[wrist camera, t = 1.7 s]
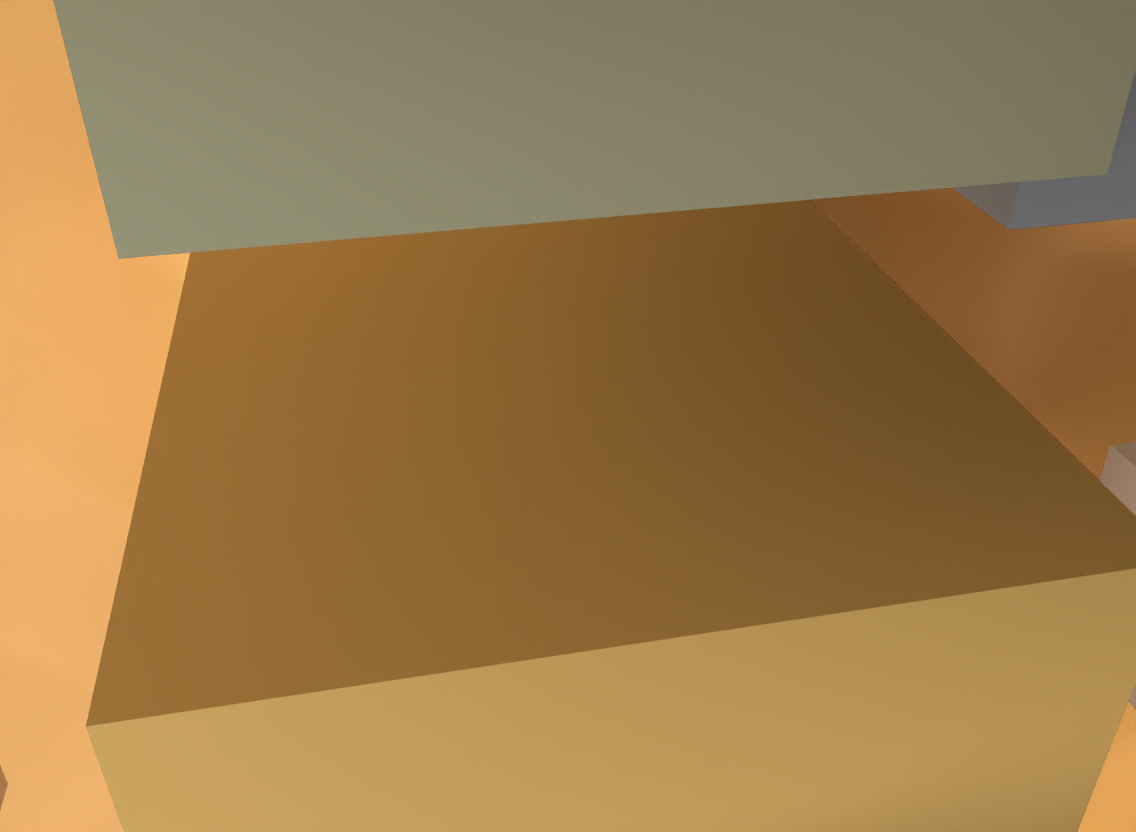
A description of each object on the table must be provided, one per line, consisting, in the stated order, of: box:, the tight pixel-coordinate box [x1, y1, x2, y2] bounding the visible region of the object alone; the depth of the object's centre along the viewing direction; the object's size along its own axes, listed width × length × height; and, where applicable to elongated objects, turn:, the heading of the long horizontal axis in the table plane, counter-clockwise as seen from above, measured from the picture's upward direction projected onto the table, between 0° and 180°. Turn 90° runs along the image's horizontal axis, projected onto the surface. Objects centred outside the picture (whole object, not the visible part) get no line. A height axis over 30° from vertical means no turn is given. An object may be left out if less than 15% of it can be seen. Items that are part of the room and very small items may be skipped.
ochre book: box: [86, 200, 1136, 832], centre depth 14 cm, size 8×6×11 cm
